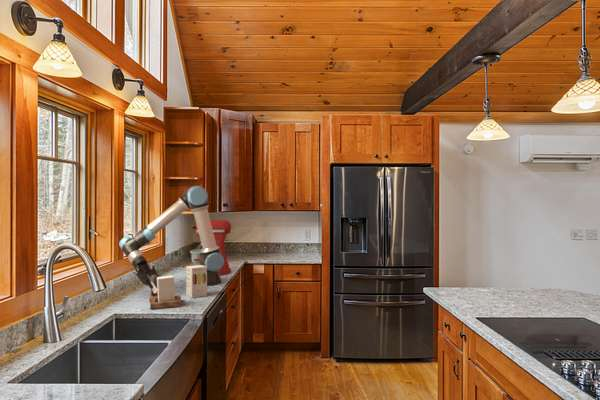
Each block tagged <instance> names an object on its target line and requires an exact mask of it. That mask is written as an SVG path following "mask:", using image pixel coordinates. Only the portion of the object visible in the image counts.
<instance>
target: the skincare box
mask: <svg viewBox="0 0 600 400" xmlns="http://www.w3.org/2000/svg"><path fill="white" fill-rule="evenodd" d="M157 291H158V292H157V294H158V302H169V301H175V295H176V294H175V292H176V291H175V277H174V276H173V275H172V274H171V275H165V276H164V275H163V276H159V277H157ZM158 302H157V303H158Z"/></svg>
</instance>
